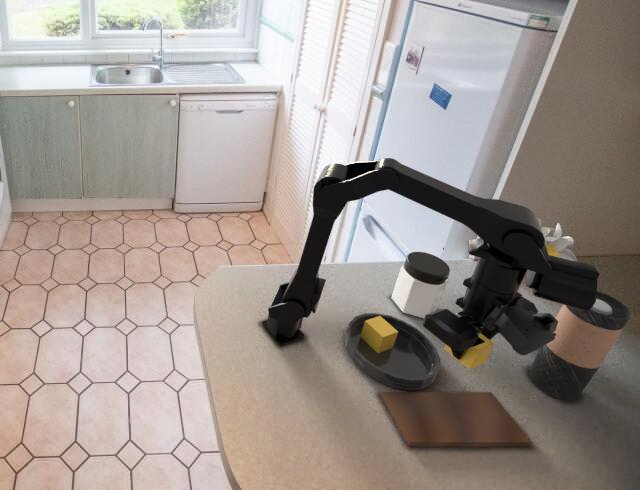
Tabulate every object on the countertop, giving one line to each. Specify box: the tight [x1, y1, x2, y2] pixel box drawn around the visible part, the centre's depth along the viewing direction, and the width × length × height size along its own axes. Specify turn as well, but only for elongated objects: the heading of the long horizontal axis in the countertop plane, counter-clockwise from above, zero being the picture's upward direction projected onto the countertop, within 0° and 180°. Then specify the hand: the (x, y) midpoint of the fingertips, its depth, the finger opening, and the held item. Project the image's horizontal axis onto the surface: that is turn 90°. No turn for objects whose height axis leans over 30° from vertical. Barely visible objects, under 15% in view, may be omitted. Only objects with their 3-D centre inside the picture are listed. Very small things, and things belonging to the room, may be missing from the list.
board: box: [380, 391, 532, 448], centre depth 78 cm, size 20×9×1 cm, turn 90°
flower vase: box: [518, 218, 579, 294], centre depth 96 cm, size 13×18×25 cm
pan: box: [343, 312, 441, 391], centre depth 90 cm, size 16×16×3 cm
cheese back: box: [360, 316, 398, 353], centre depth 92 cm, size 4×4×4 cm
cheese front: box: [443, 334, 495, 371], centre depth 77 cm, size 4×4×4 cm
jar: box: [391, 251, 451, 320], centre depth 101 cm, size 9×8×12 cm
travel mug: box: [528, 290, 631, 401], centre depth 81 cm, size 8×8×20 cm
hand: (465, 353), depth 77 cm, fingers closed on cheese front, 4 cm apart
